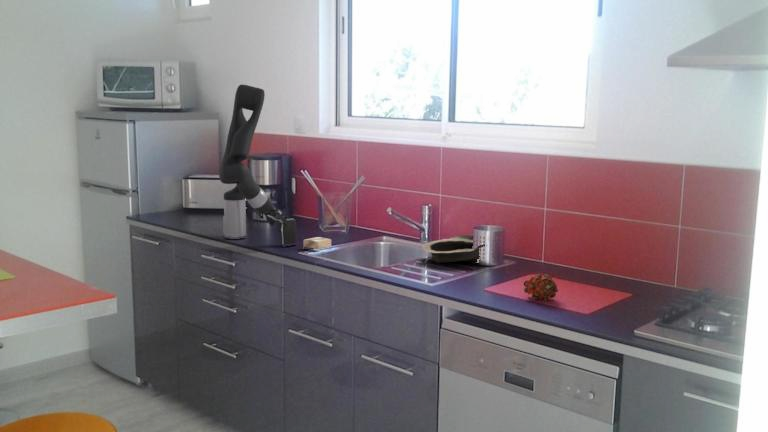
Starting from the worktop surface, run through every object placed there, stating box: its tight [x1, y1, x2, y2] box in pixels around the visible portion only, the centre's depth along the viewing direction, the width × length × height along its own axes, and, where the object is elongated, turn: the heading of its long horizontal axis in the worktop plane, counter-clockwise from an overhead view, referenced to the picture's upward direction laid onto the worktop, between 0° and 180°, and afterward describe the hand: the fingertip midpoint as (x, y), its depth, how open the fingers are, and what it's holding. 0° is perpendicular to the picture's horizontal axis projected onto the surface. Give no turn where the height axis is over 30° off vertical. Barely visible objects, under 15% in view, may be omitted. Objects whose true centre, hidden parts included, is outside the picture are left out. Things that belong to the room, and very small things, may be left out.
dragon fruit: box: [523, 273, 559, 302], centre depth 220 cm, size 8×8×12 cm
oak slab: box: [302, 236, 332, 249], centre depth 293 cm, size 8×8×4 cm
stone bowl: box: [421, 234, 486, 265], centre depth 271 cm, size 25×25×9 cm
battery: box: [278, 218, 297, 245], centre depth 298 cm, size 7×4×11 cm, turn 136°
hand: (280, 225), depth 294 cm, fingers open, 8 cm apart
